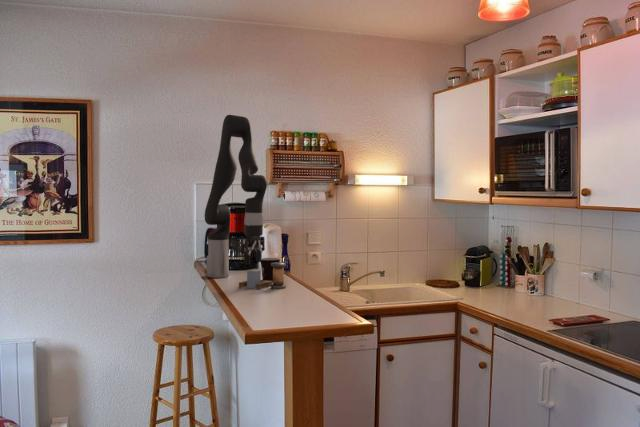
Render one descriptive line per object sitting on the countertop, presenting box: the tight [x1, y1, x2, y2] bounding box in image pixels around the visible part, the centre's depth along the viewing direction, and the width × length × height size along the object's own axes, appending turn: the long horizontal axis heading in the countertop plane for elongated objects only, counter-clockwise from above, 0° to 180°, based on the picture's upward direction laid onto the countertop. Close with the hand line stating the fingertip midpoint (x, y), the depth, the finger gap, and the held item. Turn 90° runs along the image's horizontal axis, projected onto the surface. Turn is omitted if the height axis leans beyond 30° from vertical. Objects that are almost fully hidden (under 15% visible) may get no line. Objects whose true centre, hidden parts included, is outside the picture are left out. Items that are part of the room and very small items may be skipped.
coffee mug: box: [260, 257, 281, 284], centre depth 237 cm, size 12×9×10 cm
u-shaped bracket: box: [238, 279, 273, 290], centre depth 222 cm, size 10×10×2 cm
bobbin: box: [270, 261, 287, 290], centre depth 220 cm, size 6×6×10 cm
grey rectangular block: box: [246, 269, 262, 289], centre depth 221 cm, size 4×4×7 cm
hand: (252, 263), depth 220 cm, fingers open, 8 cm apart
